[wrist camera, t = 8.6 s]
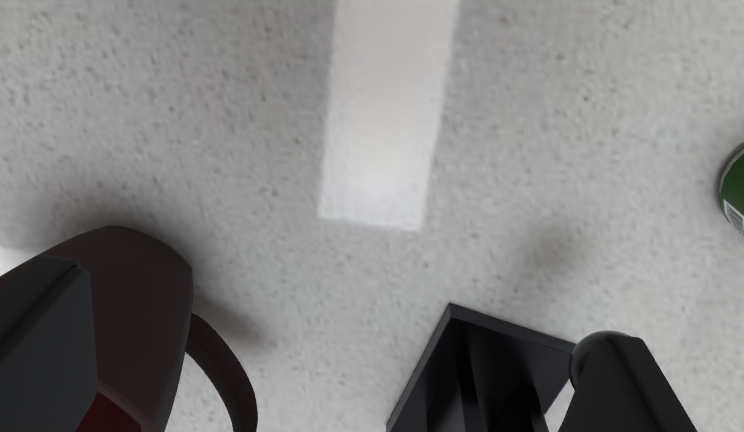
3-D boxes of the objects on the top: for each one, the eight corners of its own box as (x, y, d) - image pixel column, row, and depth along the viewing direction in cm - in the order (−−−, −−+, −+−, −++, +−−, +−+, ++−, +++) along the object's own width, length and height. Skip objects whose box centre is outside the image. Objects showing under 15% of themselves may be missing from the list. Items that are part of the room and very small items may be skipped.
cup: (81, 161, 30) (-89, 293, 20) (318, 287, 33) (283, 463, 23) (21, 297, 34) (-149, 471, 24) (238, 400, 37) (176, 596, 27)
